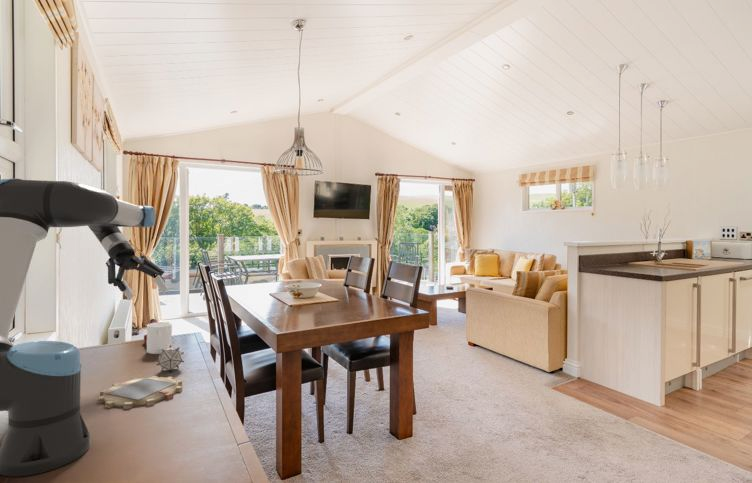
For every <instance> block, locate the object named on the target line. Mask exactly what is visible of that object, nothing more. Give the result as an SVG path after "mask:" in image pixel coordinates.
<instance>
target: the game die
mask: <svg viewBox="0 0 752 483" xmlns="http://www.w3.org/2000/svg"><path fill="white" fill-rule="evenodd" d="M162 351H163V352H162V353H161V354H155V356H156V357H157V358H158V363H157V364H156V366H160V367H161V370H164V369H165V370H167V371H169V373H170V374H171V373H172V370H174V369H175V368H177V369H179V367H180V366H179V365H180V364H181V363H185V360H183V355H184V352H183V351H182V352H181V351H180V347H177V348H174V347H173V346H171V345H170V348H168V349H166V350H163V349H162Z"/></svg>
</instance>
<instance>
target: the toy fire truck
mask: <svg viewBox="0 0 752 483" xmlns="http://www.w3.org/2000/svg"><path fill="white" fill-rule="evenodd" d="M157 322H158V321H157V320H156V319H155V318H151V319H150V320H149V324H151V323H157ZM143 344H144V345H145V346H146V347H147V334H144V335H143Z"/></svg>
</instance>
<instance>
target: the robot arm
mask: <svg viewBox="0 0 752 483" xmlns="http://www.w3.org/2000/svg"><path fill="white" fill-rule="evenodd" d="M156 213H157V212H156V210H155V207H153V206H151V205H145V204H144V205H139V204H138V205H137V204H133V203H131V202H127V201H124V200H121V199H117V198H116V197H115V196H114V195H113V194H112V193H109V192H108V191H105V190H102V189H99V188H96V187H93V186H89V185H85V184H83V183H78V182H73V181H68V180H67V181H65V180H41V179H39V180H37V179H36V180H34V179H21V178H16V177H15V178H13V177H12V178H0V412H4V411H5V412H7V414H8V415H7V420H8V421H7V422H8V423H7V430H6V431H5V432H6V433H5V434H4V437H3V439H2V442H1V445H0V475H2V476H5V477H13V478H14V477H15V478H16V477H17V478H18V477H27V476H34V475H39V474H42V473H46V472H49V471H53V470H56V469H58V468H60V467H63V466H66V465H68V464H70V463H72V462H73V461H75V460H77V459H79V458H80V457H82V456H83V455H84V454H85V453H86V452H87V451H88V450H89V448H90V446H91V445H90V442H91V441H90V440H91V438H90V437H91V436H90V433H89V430H88V427H87V425H86V423H85V420H84V418H83V415H82V414H81V373H82V372H81V371H82V363H81V354H80V353H81V352H80V350H79V348H78V347H77V346H74V344H71V343H68V342H64V341H58V340H55V341H53V340H40V341H29V342H27V341H26V342H22V343H18V344H15V345H14V344H13V343H12V342H11V341H10V339H9V338H8V337H9V334H10V332H11V331H10V330H11V327H12V324H13V321H14V318H15V314H16V312H17V308H18V305H19V301H20V299H21V295H22V292H23V289H24V285H25V281H26V279H27V275H28V272H29V269H30V266H31V265H30V264H31V261H32V259H33V255H34V252H35V248H36V246H37V242H40V241H42V240H45V239H46V238H47V236H48V232H49V230H50V228H76V227H86V226H87V227H88V229H90V231H91V232H92V234H94V236H95V237H96V239H97V240H98V241H99V243H100V245H101V246H102V247H103V249H104V250H105V252H106V253H107V255H108V256H109V258H108V259H107V261H106V262H105V265H106V267H107V283H108V284H109V285H113V286H114V287H118V290H120V291H121V292H122V293H123V294H124V295H125V297H126V298H127V300H128V301H131V300H132V299H133V298H134V296H135V295H136V294H135V292H134V291H133V289H131V287H130V286H129V283H128V282H127V281H126V279H123V277H124V274H125V271H130V270H133V271H134V270H136V271H139V272H142V273H143V274H146V275H148V276H149V277H151V278H153V281H154V283H155V284H156V286H158V289H159V290H160V292H162V294H166V292H167V291H168V290H169V289H170V288H169V286H168V285H167V284H166V280H165V279H164V277H163V276H164V274H165V271H164V270H163V269H162V268H161V267H159V266H157V265H156V264H155V263H154V262H152V261H150V259H149V258H147V257H146V255H145V254H143V255H141V256H140V257H138V256H136V252H135V249H134V248H133V246H132V245H131V244H130V243H129V241H128V239H127V238H126V237H125V235H124V233H123V232H121V230H120V227H122V228H123V227H125V228H126V227H127V228H152V227H154V226H155V223H156V220H157V219H156V217H157V214H156ZM116 266H118V271H117V272H116Z"/></svg>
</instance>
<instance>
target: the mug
mask: <svg viewBox="0 0 752 483" xmlns="http://www.w3.org/2000/svg"><path fill="white" fill-rule="evenodd" d="M172 324H173V323H172V322H168V321H160V322H159V321H157V323H151V324H150V323H148V324H147V325H146V335H147V346H146V352H147V354H149V355H160V354H161V353H162V352H163V351H162V349H163V350H166V349H168V348H170V345H171V347H173V346H172V339H173V338H172V337H173V336H172V335H173V334H172V332H173V328H172V327H173V325H172Z"/></svg>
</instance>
